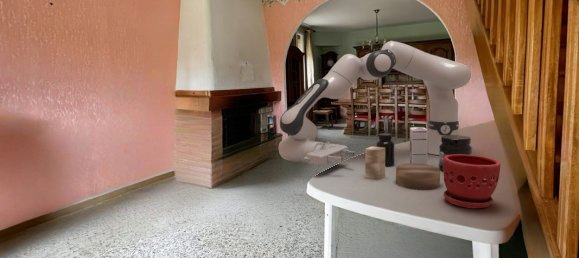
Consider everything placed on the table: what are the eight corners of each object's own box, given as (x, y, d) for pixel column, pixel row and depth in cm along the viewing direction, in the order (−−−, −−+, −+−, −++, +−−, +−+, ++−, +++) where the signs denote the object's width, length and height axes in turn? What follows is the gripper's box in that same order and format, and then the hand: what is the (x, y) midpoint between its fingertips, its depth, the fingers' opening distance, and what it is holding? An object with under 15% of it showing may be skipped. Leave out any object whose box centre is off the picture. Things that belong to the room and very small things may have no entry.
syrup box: (427, 167, 126) (428, 129, 124) (410, 167, 127) (411, 129, 125) (424, 164, 131) (425, 127, 129) (408, 163, 132) (409, 127, 130)
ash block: (365, 177, 116) (365, 148, 114) (371, 174, 120) (371, 146, 118) (379, 179, 113) (379, 150, 111) (385, 176, 117) (385, 147, 115)
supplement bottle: (381, 161, 137) (382, 132, 135) (397, 164, 132) (398, 133, 131) (372, 164, 132) (372, 134, 131) (388, 167, 128) (389, 136, 126)
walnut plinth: (395, 177, 116) (395, 162, 115) (436, 179, 112) (437, 164, 111) (396, 188, 104) (396, 173, 103) (442, 191, 100) (443, 175, 99)
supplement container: (476, 170, 121) (478, 136, 119) (462, 175, 114) (464, 140, 113) (447, 164, 129) (448, 133, 127) (432, 170, 123) (433, 137, 121)
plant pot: (473, 215, 82) (476, 167, 80) (431, 199, 93) (432, 156, 92) (509, 206, 87) (512, 160, 85) (464, 191, 99) (466, 151, 97)
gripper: (299, 150, 121) (333, 153, 113) (328, 140, 137) (359, 143, 129) (299, 167, 122) (333, 172, 114) (328, 156, 138) (360, 159, 130)
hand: (347, 156), depth 122 cm, fingers open, 8 cm apart
